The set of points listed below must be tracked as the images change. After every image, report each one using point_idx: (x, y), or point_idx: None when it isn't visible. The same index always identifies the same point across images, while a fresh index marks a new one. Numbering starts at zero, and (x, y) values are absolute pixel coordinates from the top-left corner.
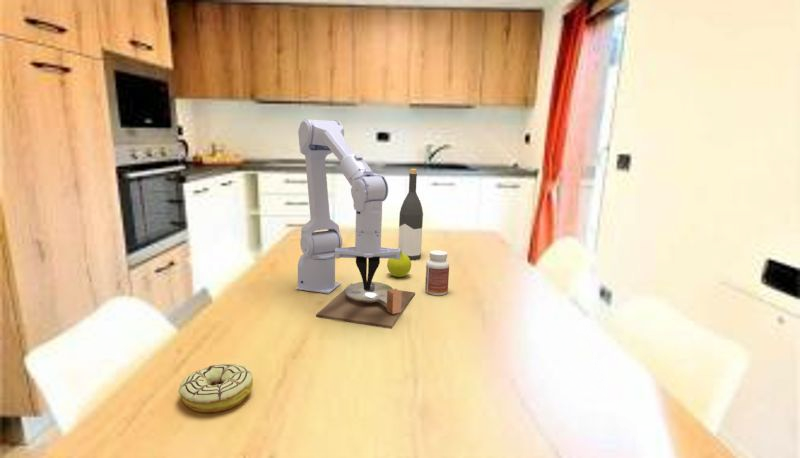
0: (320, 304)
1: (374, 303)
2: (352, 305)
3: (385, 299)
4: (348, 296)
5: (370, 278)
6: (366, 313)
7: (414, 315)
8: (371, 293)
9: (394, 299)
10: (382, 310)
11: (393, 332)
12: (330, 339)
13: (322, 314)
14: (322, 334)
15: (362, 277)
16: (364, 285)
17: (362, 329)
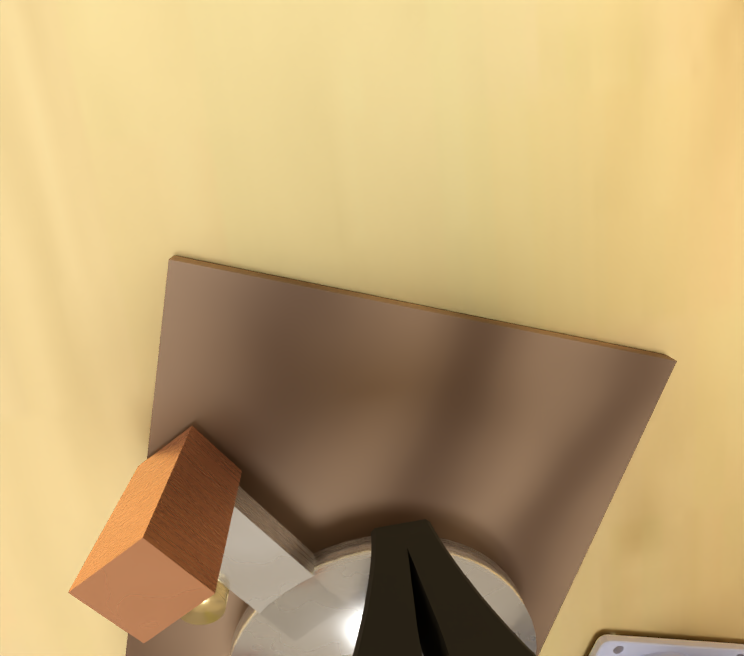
0: (639, 512)
1: None
2: (467, 514)
3: (255, 563)
4: (508, 578)
5: (384, 628)
6: (371, 422)
7: (57, 473)
8: None
9: (148, 503)
10: (274, 482)
11: (148, 194)
12: (574, 28)
13: (638, 366)
14: (626, 106)
15: (493, 619)
16: (436, 545)
17: (373, 216)
